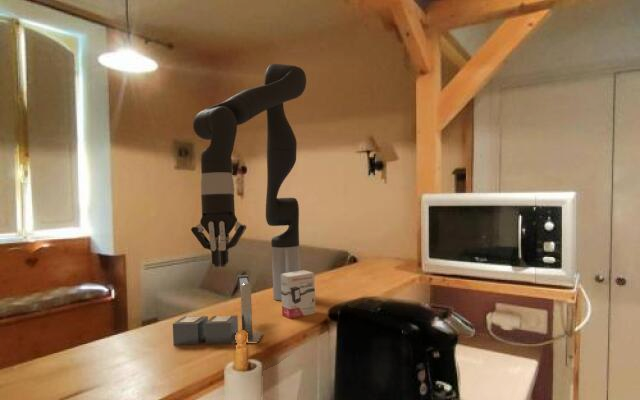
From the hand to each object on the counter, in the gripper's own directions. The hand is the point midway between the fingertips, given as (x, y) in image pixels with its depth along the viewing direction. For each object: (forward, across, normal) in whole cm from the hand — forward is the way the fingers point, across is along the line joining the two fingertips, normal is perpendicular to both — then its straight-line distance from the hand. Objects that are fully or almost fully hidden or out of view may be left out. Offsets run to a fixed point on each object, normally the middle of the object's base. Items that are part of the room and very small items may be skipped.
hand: (220, 266), depth 96 cm
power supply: (+18, 0, 0) cm, 18 cm away
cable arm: (+8, +3, +10) cm, 13 cm away
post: (+17, +6, 0) cm, 18 cm away
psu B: (+18, -8, 0) cm, 19 cm away
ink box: (+18, +16, +20) cm, 31 cm away
